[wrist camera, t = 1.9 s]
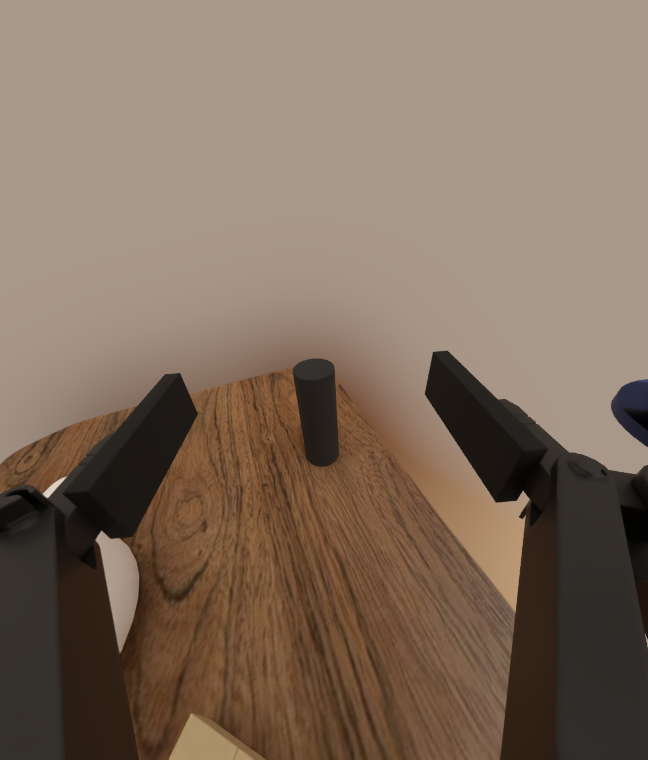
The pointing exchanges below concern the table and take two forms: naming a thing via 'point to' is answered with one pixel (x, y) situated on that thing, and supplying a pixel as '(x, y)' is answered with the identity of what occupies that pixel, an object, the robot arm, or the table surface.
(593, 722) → the robot arm
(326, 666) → the table surface
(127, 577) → the teapot
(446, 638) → the table surface
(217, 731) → the base pad
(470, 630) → the table surface
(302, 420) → the black cylinder peg
